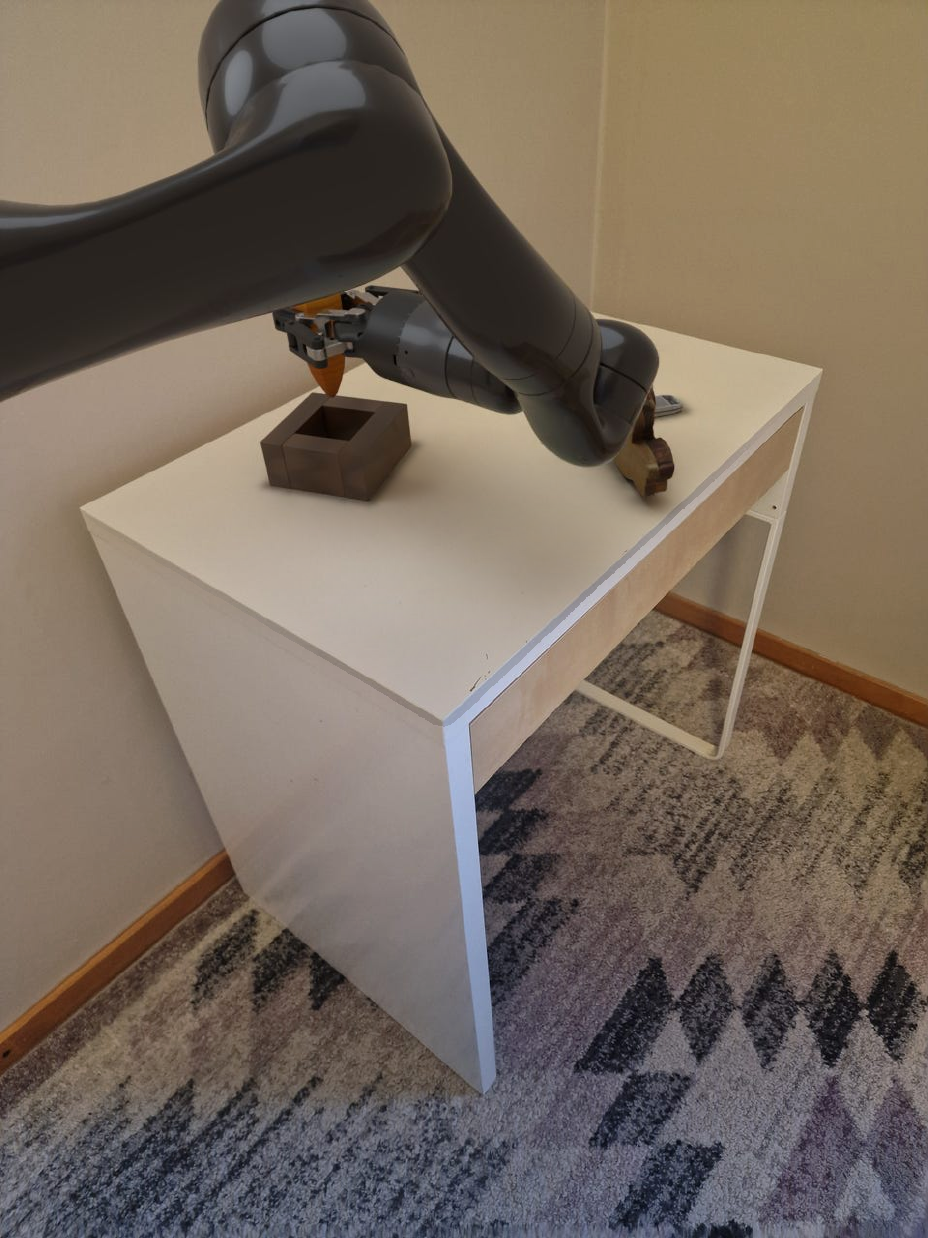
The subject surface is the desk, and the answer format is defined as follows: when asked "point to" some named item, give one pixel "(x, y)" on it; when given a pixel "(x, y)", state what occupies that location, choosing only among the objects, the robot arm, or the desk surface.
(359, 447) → the holder
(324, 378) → the carrot
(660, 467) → the wooden carving
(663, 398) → the strap clip
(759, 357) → the desk surface
